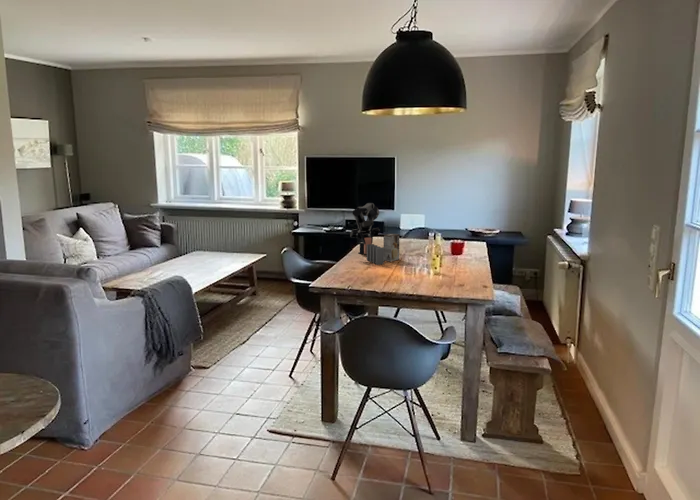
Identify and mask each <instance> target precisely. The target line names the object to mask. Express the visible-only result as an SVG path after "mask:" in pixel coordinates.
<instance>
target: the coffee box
mask: <svg viewBox="0 0 700 500" xmlns="http://www.w3.org/2000/svg"><path fill="white" fill-rule="evenodd" d="M383 248H384V262H385V261H386V262H394V261H397V260H400V234H398V233H388V234H383Z"/></svg>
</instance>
